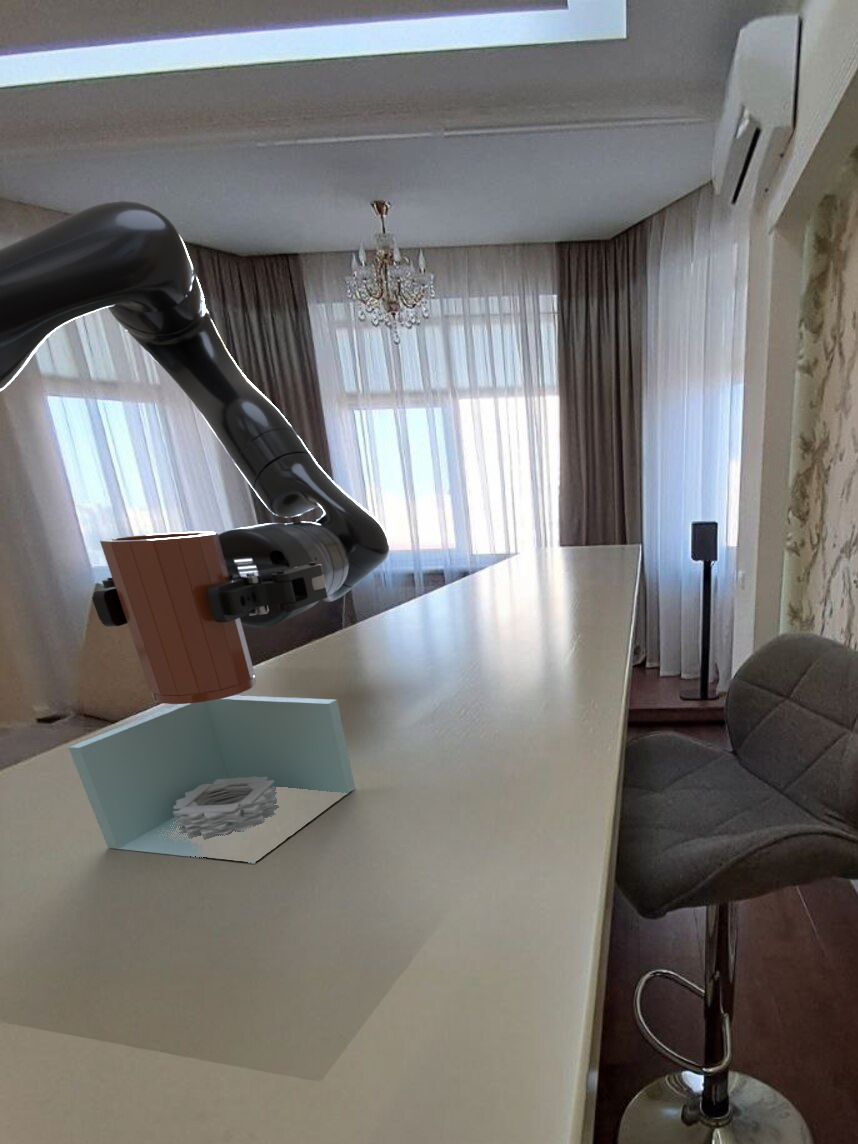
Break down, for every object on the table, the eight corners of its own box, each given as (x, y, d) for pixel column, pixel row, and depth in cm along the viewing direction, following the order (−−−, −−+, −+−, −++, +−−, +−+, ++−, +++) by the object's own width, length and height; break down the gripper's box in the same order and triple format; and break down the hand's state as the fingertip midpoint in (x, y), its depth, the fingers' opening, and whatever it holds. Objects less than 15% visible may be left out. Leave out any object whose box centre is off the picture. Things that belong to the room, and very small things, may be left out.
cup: (130, 703, 45) (73, 542, 41) (197, 677, 51) (153, 533, 46) (216, 705, 44) (167, 540, 39) (275, 677, 50) (238, 530, 45)
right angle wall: (107, 847, 47) (68, 747, 44) (230, 779, 58) (205, 694, 55) (255, 863, 45) (224, 757, 41) (355, 788, 55) (336, 699, 52)
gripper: (174, 528, 56) (20, 548, 41) (348, 521, 56) (258, 539, 41) (201, 620, 59) (67, 671, 44) (365, 614, 59) (287, 663, 44)
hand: (159, 607), depth 43 cm, fingers closed on cup, 6 cm apart
